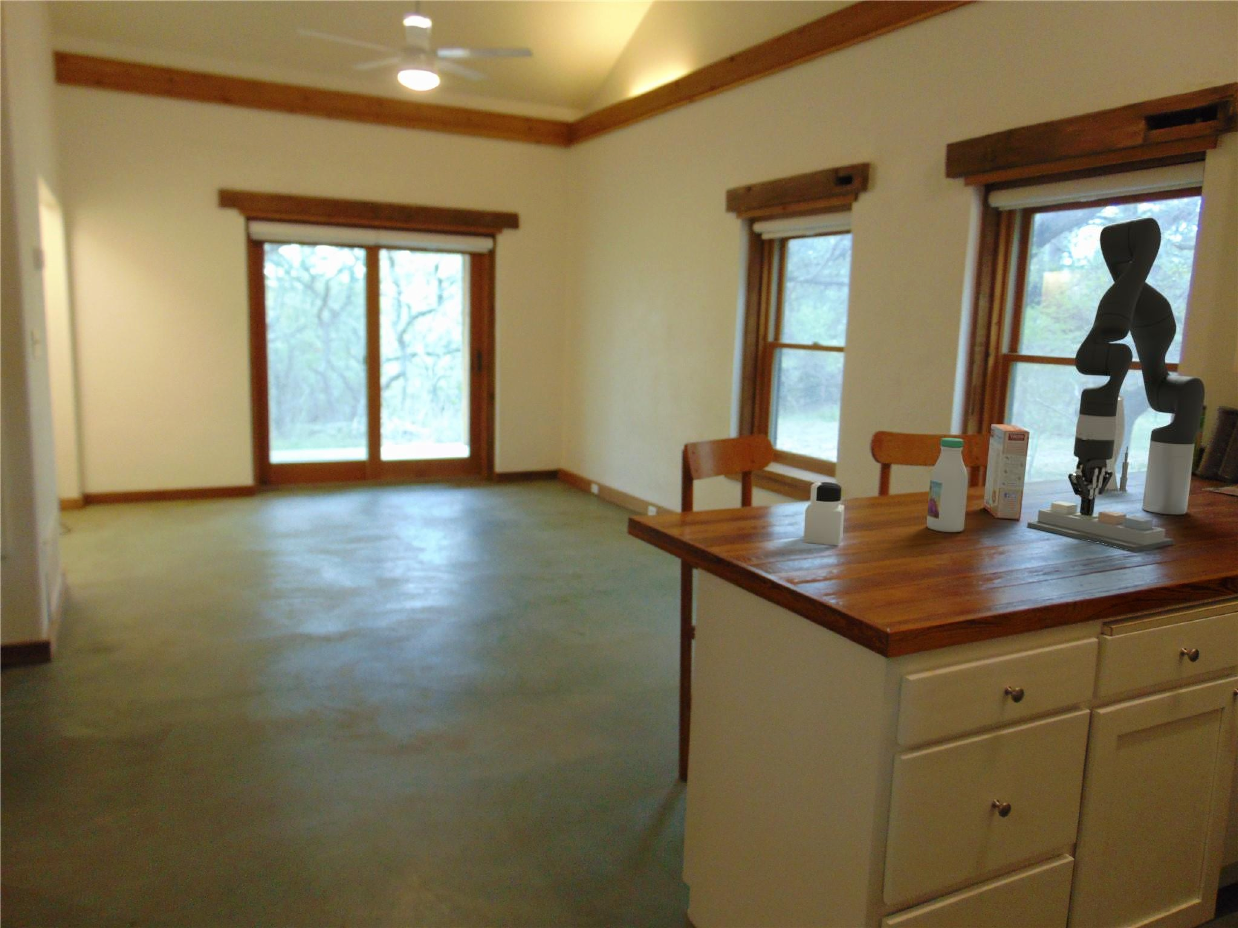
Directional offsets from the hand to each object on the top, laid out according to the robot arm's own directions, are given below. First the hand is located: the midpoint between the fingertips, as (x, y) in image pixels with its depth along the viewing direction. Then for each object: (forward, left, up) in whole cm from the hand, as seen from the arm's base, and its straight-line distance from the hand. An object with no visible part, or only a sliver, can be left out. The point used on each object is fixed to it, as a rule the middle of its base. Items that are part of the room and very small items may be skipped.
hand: (1086, 514), depth 192 cm
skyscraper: (-56, -30, -5) cm, 64 cm away
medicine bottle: (+58, -20, -4) cm, 61 cm away
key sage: (0, 0, -3) cm, 3 cm away
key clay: (0, +6, -1) cm, 6 cm away
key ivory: (0, -5, -1) cm, 6 cm away
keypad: (0, +3, -4) cm, 5 cm away
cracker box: (0, -21, -4) cm, 21 cm away
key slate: (0, +11, -1) cm, 11 cm away
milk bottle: (+26, -16, -4) cm, 31 cm away
